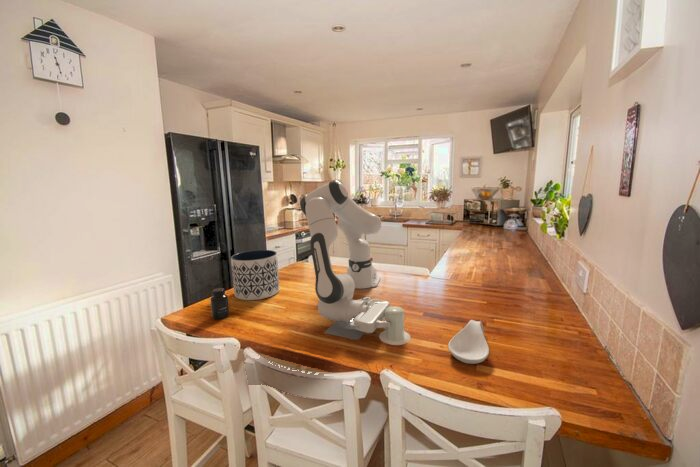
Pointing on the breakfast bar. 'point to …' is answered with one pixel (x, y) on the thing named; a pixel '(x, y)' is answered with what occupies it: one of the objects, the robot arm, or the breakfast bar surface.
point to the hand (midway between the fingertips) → (394, 318)
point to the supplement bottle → (219, 304)
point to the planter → (255, 274)
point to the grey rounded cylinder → (394, 323)
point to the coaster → (385, 340)
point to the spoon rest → (470, 344)
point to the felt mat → (344, 330)
